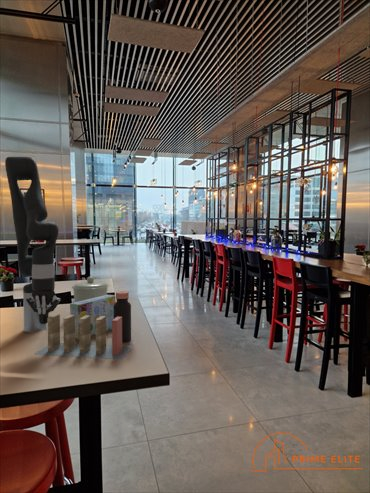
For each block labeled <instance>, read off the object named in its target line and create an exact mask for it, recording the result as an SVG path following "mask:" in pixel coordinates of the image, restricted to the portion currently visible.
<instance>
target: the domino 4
mask: <svg viewBox="0 0 370 493" xmlns="http://www.w3.org/2000/svg"><path fill="white" fill-rule="evenodd" d="M95 345H96V354H101V353H102V352H103V351H104V350H106V345H107V331H106V316H101V317H99V318H97V319H96V333H95Z"/></svg>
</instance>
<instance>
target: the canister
mask: <svg viewBox="0 0 370 493" xmlns="http://www.w3.org/2000/svg"><path fill="white" fill-rule="evenodd" d="M109 286H110V285H109V284H108V283H106V282H104V281H97V280H95V278H94V276H88V277H86V281H82V282H77V283H75V284H74V285H72V286H71V289H72V292H73V297H74V298H73V299H74V303H75V302H79V301H83V300H87V299H92V298H96V297H100V296H104V295H108V287H109Z"/></svg>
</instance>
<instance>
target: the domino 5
mask: <svg viewBox="0 0 370 493" xmlns="http://www.w3.org/2000/svg"><path fill="white" fill-rule="evenodd" d="M111 341H112V342H111V345H112V354H113V355H118V353H119V352H120V351H121V350H122V346H123V343H122V317H116V318H115V319H113V320H112V329H111Z"/></svg>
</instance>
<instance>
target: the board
mask: <svg viewBox="0 0 370 493" xmlns="http://www.w3.org/2000/svg"><path fill="white" fill-rule="evenodd" d="M133 348H134V346H128V345H122V350H121V351H120V352H119V353H118V355H113V354H112V344H111V345H108V344H106V350H104V351H103V352H102V353H101V354H96V344H92V343H91V348H90V349H89V350H88V351H86V352H85V353H80V343H75V348H73V349H72V350H71V351H69V352H64V342H60V347H58V348H57V349H55V350H54V351H48V345H46V346H45V347H43V348H42V349H40V350H39V351H37V352H35V353H34V355H39V356H55V357H57V356H58V357H74V358H75V357H76V358H88V359H89V358H90V359H92V358H93V359H105V360H107V359H109V360H124V358H125V357H126V356H127V355H128V354H129V352H130V351H131V350H132V349H133Z"/></svg>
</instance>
